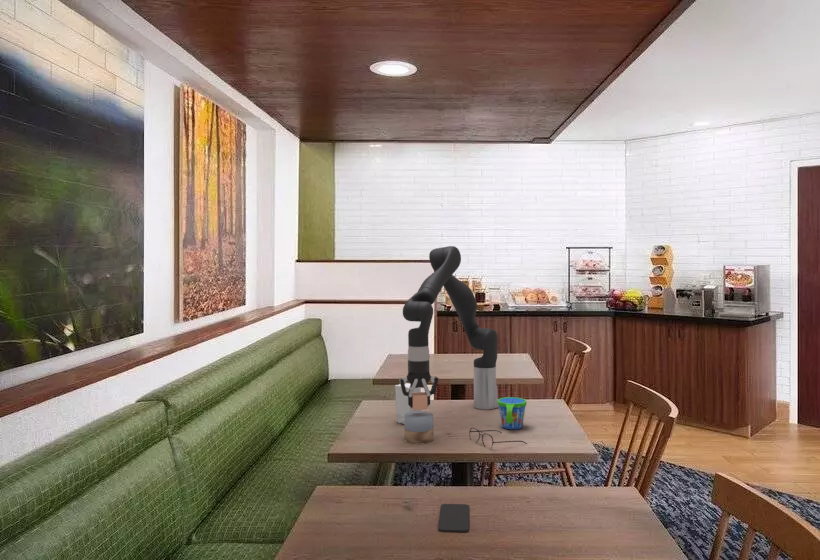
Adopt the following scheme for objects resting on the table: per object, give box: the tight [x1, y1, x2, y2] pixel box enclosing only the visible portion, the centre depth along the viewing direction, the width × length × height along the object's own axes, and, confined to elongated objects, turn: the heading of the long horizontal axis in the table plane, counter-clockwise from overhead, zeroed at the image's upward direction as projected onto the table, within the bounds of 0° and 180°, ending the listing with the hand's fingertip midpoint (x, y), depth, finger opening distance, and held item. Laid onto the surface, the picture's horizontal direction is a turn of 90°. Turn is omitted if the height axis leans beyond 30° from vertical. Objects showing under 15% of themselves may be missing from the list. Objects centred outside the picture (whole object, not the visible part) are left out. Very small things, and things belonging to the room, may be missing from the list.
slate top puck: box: [404, 410, 434, 432], centre depth 210 cm, size 10×10×4 cm
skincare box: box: [394, 382, 422, 425], centre depth 231 cm, size 8×6×15 cm
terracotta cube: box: [412, 391, 429, 411], centre depth 211 cm, size 5×5×5 cm
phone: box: [437, 503, 470, 534], centre depth 148 cm, size 7×1×15 cm
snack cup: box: [498, 396, 527, 430], centre depth 223 cm, size 16×10×10 cm
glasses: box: [469, 427, 528, 449], centre depth 207 cm, size 14×15×5 cm
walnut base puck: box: [404, 428, 434, 444], centre depth 210 cm, size 10×10×4 cm
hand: (419, 406), depth 211 cm, fingers closed on terracotta cube, 5 cm apart
